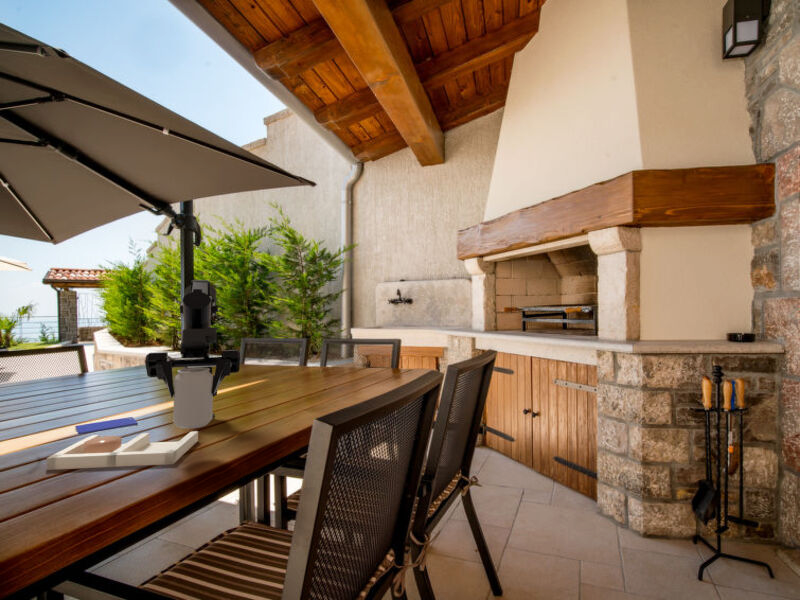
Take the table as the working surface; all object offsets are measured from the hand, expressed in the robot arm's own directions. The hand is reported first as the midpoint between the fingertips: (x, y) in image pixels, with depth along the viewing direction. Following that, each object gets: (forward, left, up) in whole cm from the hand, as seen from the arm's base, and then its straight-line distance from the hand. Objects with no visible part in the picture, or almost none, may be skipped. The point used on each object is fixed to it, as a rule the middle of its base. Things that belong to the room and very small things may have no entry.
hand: (193, 395), depth 85 cm
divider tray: (+1, -13, -13) cm, 19 cm away
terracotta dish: (+3, -18, -13) cm, 23 cm away
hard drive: (-16, -35, -14) cm, 41 cm away
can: (-1, -1, -7) cm, 7 cm away
